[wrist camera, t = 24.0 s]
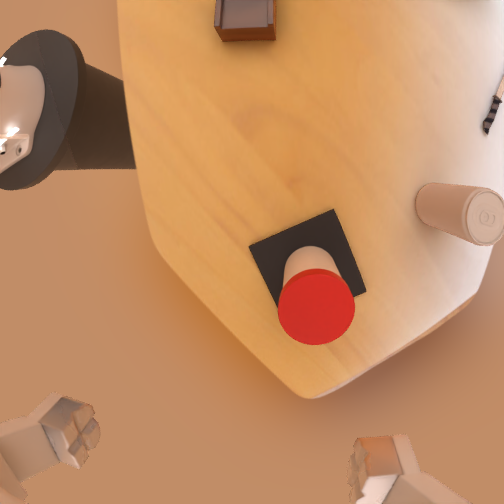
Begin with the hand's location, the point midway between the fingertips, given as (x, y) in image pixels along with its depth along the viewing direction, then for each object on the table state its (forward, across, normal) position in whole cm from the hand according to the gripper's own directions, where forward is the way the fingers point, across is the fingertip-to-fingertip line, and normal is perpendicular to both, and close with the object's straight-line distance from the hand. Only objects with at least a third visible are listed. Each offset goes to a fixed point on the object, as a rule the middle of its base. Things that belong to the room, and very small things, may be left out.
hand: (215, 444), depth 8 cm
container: (+22, -4, +3) cm, 23 cm away
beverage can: (+28, -18, -6) cm, 34 cm away
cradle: (+28, +3, -27) cm, 39 cm away
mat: (+28, -4, +3) cm, 28 cm away
